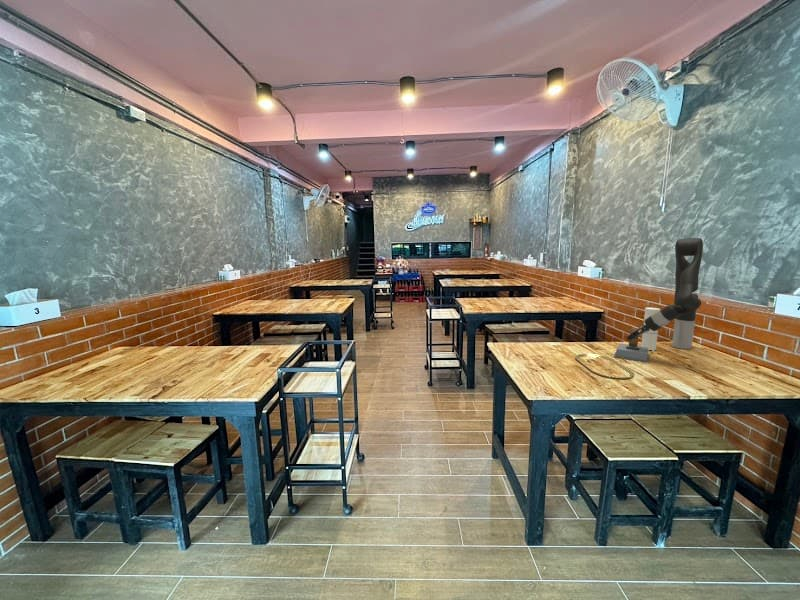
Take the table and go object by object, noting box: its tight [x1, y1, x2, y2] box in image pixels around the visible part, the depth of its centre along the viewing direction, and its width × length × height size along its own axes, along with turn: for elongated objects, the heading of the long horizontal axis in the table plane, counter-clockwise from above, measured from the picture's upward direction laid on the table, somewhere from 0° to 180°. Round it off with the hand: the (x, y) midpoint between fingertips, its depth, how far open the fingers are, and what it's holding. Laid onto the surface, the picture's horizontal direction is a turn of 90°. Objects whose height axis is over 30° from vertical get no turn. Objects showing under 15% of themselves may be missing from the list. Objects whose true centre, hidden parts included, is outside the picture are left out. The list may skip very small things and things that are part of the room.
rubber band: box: [575, 353, 635, 380], centre depth 174 cm, size 19×35×2 cm, turn 176°
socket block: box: [613, 343, 651, 363], centre depth 189 cm, size 16×16×5 cm
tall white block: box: [640, 307, 661, 351], centre depth 200 cm, size 7×7×25 cm
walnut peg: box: [628, 328, 639, 347], centre depth 188 cm, size 4×4×10 cm
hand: (629, 338), depth 190 cm, fingers closed on walnut peg, 4 cm apart
